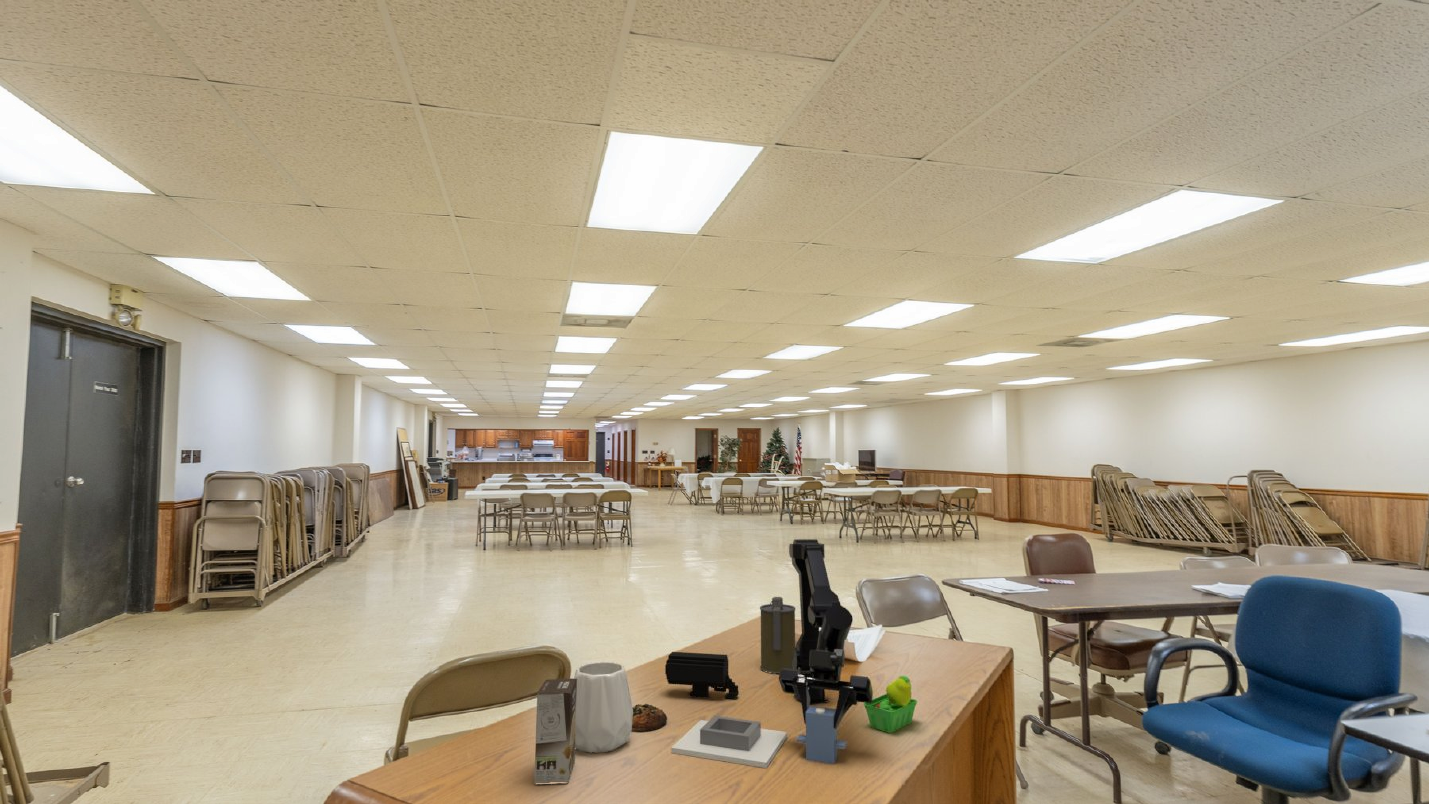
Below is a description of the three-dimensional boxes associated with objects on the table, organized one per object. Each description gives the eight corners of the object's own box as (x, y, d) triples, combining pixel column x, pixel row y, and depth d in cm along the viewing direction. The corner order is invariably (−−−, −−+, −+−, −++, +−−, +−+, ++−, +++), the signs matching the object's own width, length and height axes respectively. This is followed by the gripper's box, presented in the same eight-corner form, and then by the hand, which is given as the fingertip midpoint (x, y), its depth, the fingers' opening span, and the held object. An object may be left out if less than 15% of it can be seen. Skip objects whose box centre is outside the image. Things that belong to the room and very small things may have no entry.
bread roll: (667, 731, 144) (664, 707, 145) (617, 740, 143) (614, 716, 144) (668, 715, 155) (665, 693, 156) (621, 723, 154) (618, 700, 155)
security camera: (735, 703, 162) (735, 661, 163) (663, 698, 166) (663, 657, 167) (740, 694, 169) (740, 653, 170) (670, 689, 173) (671, 649, 174)
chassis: (671, 752, 133) (671, 732, 134) (700, 724, 148) (700, 706, 149) (766, 768, 126) (766, 747, 127) (787, 737, 141) (786, 718, 142)
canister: (761, 663, 196) (760, 594, 199) (796, 664, 195) (795, 595, 197) (758, 673, 186) (758, 601, 188) (795, 675, 184) (795, 602, 186)
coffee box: (569, 784, 120) (571, 692, 121) (533, 786, 119) (536, 693, 121) (575, 762, 129) (577, 677, 131) (542, 763, 128) (544, 678, 130)
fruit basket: (889, 714, 155) (888, 664, 156) (924, 724, 149) (922, 672, 150) (862, 727, 147) (861, 674, 148) (898, 738, 141) (896, 683, 142)
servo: (796, 758, 131) (795, 707, 132) (800, 750, 134) (800, 701, 136) (844, 765, 127) (843, 714, 128) (847, 757, 131) (846, 707, 132)
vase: (602, 762, 129) (603, 682, 130) (550, 746, 136) (552, 670, 138) (646, 738, 141) (647, 664, 142) (596, 725, 148) (597, 655, 150)
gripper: (780, 628, 140) (766, 699, 129) (869, 636, 134) (863, 711, 122) (789, 657, 147) (777, 726, 135) (875, 666, 140) (869, 739, 129)
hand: (820, 725), depth 130 cm, fingers closed on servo, 5 cm apart
